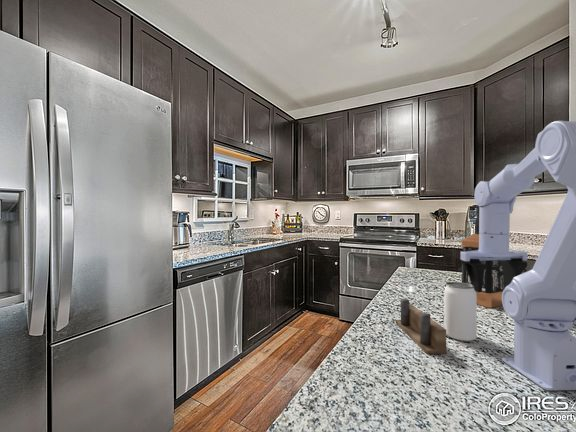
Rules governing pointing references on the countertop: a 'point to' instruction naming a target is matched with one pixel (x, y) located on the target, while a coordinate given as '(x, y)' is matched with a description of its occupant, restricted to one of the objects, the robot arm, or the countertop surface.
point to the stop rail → (422, 329)
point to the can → (460, 311)
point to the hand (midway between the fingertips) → (492, 290)
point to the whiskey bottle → (485, 273)
